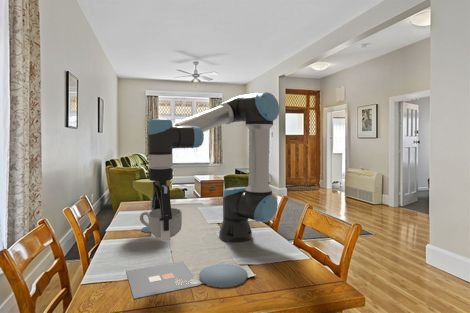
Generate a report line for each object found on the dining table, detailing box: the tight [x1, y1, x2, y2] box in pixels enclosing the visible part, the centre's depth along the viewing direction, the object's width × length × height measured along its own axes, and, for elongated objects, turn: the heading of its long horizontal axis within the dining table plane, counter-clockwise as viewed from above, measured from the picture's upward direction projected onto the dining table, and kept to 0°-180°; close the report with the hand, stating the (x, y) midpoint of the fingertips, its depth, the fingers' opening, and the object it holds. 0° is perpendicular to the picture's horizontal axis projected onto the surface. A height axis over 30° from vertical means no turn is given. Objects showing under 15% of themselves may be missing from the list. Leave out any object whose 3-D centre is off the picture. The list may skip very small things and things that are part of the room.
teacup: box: [139, 207, 183, 239], centre depth 102 cm, size 14×11×8 cm
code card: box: [125, 261, 201, 300], centre depth 102 cm, size 20×20×1 cm
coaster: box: [198, 263, 248, 289], centre depth 104 cm, size 16×16×1 cm
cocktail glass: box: [132, 176, 172, 234], centre depth 154 cm, size 18×18×25 cm
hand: (161, 234), depth 101 cm, fingers closed on teacup, 11 cm apart
